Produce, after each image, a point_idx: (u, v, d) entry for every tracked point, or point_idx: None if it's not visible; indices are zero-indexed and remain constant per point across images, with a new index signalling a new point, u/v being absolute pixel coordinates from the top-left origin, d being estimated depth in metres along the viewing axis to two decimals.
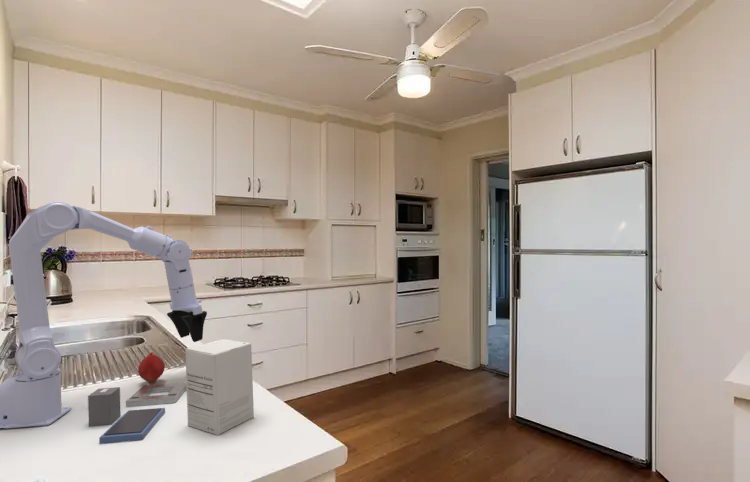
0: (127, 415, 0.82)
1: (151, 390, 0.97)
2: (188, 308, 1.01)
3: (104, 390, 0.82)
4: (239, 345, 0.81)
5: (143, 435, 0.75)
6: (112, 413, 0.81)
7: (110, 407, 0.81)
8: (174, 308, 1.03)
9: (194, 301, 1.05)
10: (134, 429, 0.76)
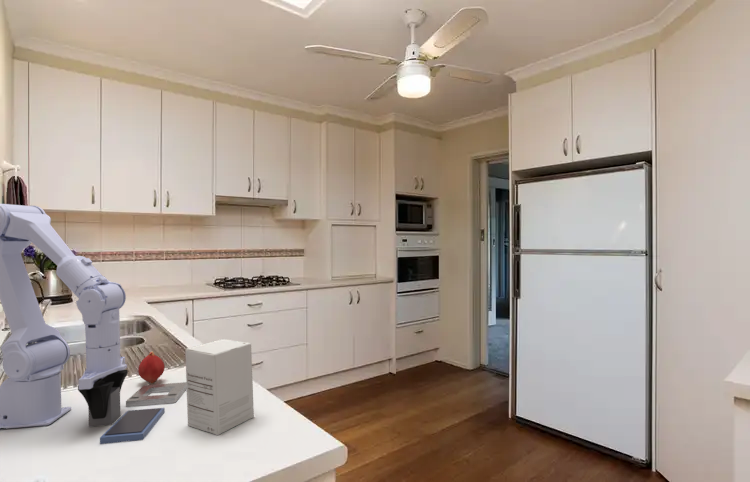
0: (127, 415, 0.82)
1: (151, 390, 0.97)
2: None
3: None
4: (239, 345, 0.81)
5: (144, 435, 0.75)
6: (112, 413, 0.81)
7: (110, 407, 0.81)
8: None
9: (106, 368, 0.80)
10: (135, 429, 0.76)
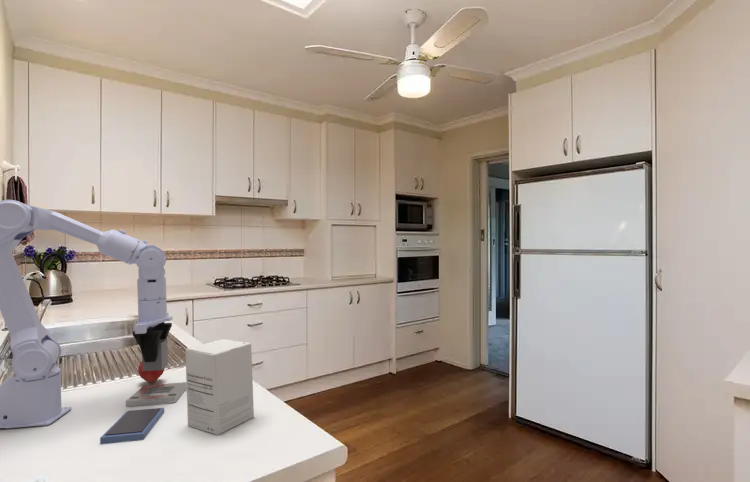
0: (126, 415, 0.82)
1: (151, 390, 0.97)
2: None
3: None
4: (239, 345, 0.81)
5: (144, 435, 0.75)
6: (162, 360, 0.93)
7: (161, 354, 0.92)
8: None
9: (156, 318, 0.92)
10: (135, 429, 0.76)
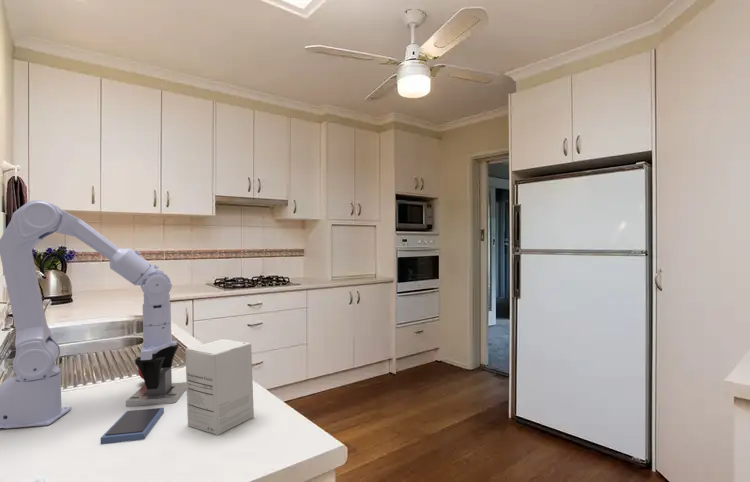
0: (126, 415, 0.82)
1: None
2: (142, 350, 0.90)
3: None
4: (239, 345, 0.81)
5: (145, 434, 0.75)
6: (166, 389, 0.94)
7: (165, 384, 0.93)
8: None
9: (161, 343, 0.93)
10: (136, 429, 0.76)
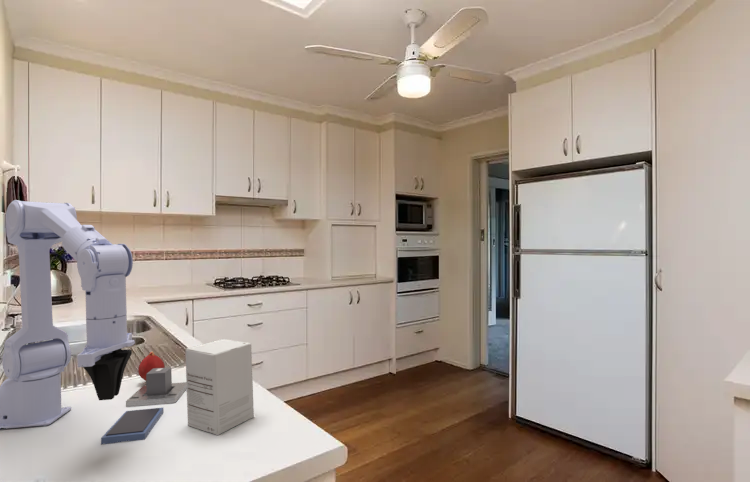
0: (126, 415, 0.82)
1: None
2: None
3: (159, 369, 0.95)
4: (239, 345, 0.81)
5: (145, 434, 0.75)
6: (166, 389, 0.94)
7: (165, 384, 0.93)
8: None
9: (110, 343, 0.67)
10: (136, 429, 0.76)
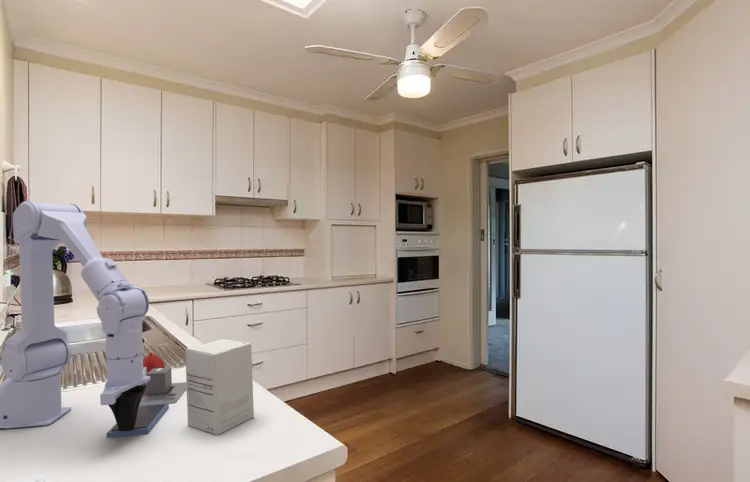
0: None
1: None
2: None
3: (159, 369, 0.95)
4: (239, 345, 0.81)
5: (149, 430, 0.77)
6: (166, 389, 0.94)
7: (165, 384, 0.93)
8: (106, 383, 0.75)
9: (129, 380, 0.74)
10: (140, 424, 0.78)
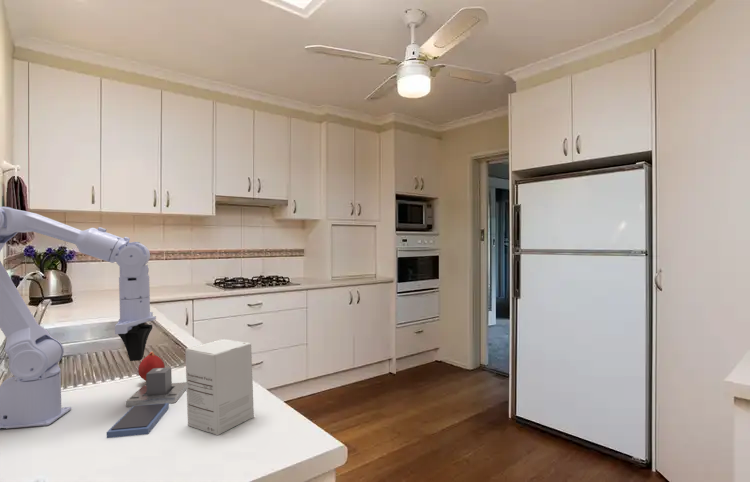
0: (132, 410, 0.84)
1: None
2: (117, 324, 0.85)
3: (159, 369, 0.95)
4: (239, 345, 0.81)
5: (149, 429, 0.77)
6: (166, 389, 0.94)
7: (165, 384, 0.93)
8: (119, 320, 0.89)
9: (138, 317, 0.88)
10: (140, 424, 0.78)
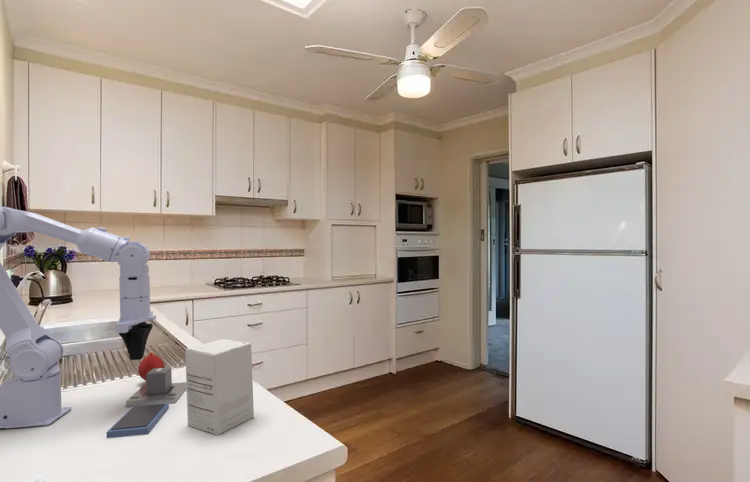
0: (132, 411, 0.84)
1: None
2: None
3: (159, 369, 0.95)
4: (239, 345, 0.81)
5: (149, 429, 0.77)
6: (166, 389, 0.94)
7: (165, 384, 0.93)
8: None
9: (138, 317, 0.89)
10: (140, 424, 0.78)
